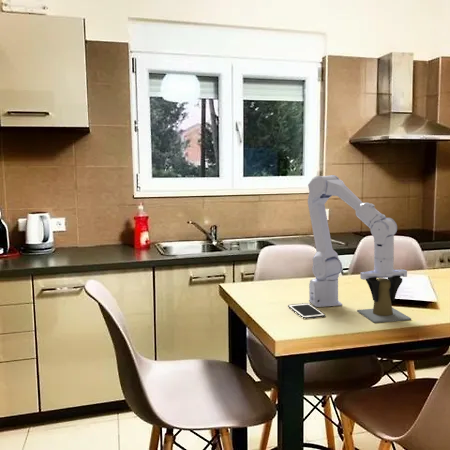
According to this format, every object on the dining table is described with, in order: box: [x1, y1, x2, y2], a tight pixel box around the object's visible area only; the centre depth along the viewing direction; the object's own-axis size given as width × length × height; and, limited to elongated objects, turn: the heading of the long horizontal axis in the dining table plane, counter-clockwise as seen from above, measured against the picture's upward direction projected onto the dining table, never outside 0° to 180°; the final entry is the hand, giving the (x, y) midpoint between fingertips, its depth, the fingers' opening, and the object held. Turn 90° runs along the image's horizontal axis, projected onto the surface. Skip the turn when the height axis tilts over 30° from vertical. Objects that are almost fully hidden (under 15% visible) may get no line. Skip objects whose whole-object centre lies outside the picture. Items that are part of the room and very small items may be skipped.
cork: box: [372, 278, 393, 316], centre depth 150 cm, size 6×6×11 cm
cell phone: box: [287, 302, 326, 319], centre depth 156 cm, size 8×15×1 cm, turn 13°
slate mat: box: [356, 307, 412, 324], centre depth 150 cm, size 12×12×1 cm
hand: (383, 300), depth 149 cm, fingers closed on cork, 5 cm apart
